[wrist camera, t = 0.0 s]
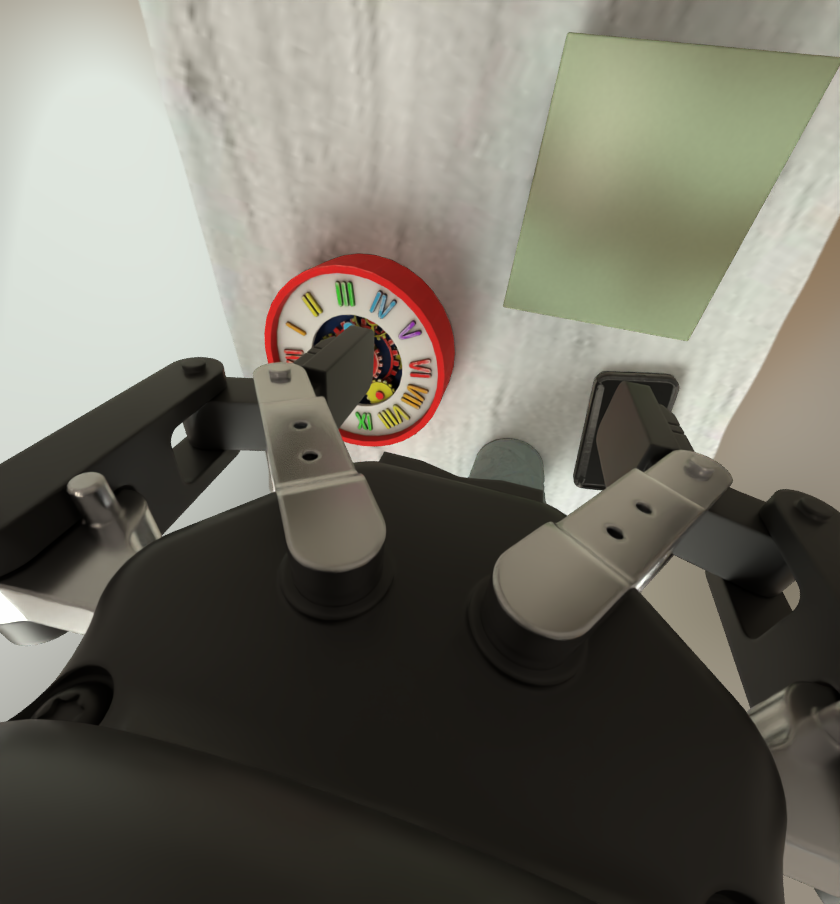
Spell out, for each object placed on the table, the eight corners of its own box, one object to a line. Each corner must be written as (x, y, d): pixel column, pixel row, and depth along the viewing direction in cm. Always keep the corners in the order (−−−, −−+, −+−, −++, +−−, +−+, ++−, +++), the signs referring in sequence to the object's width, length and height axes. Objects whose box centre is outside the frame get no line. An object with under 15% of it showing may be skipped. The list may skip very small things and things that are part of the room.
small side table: (557, 81, 29) (567, 31, 19) (727, 100, 28) (845, 56, 17) (513, 267, 37) (502, 307, 26) (643, 290, 35) (688, 341, 25)
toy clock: (445, 455, 44) (289, 437, 49) (454, 428, 49) (310, 414, 53) (444, 264, 33) (239, 264, 37) (455, 252, 37) (272, 254, 42)
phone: (572, 487, 48) (597, 375, 40) (571, 481, 49) (596, 371, 41) (641, 494, 46) (684, 379, 38) (640, 488, 47) (680, 374, 39)
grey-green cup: (538, 500, 52) (538, 572, 43) (464, 487, 54) (448, 554, 45) (555, 438, 46) (559, 507, 37) (471, 426, 48) (454, 488, 39)
